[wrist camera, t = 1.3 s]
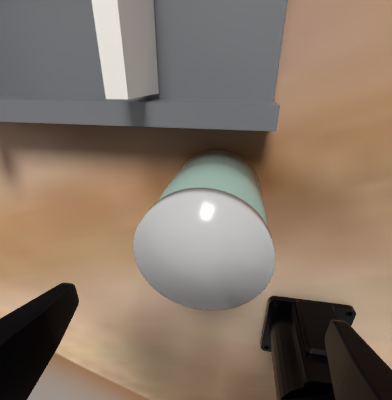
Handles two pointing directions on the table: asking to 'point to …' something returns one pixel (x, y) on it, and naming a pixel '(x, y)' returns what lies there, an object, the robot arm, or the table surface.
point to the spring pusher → (127, 47)
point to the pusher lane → (166, 65)
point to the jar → (207, 235)
